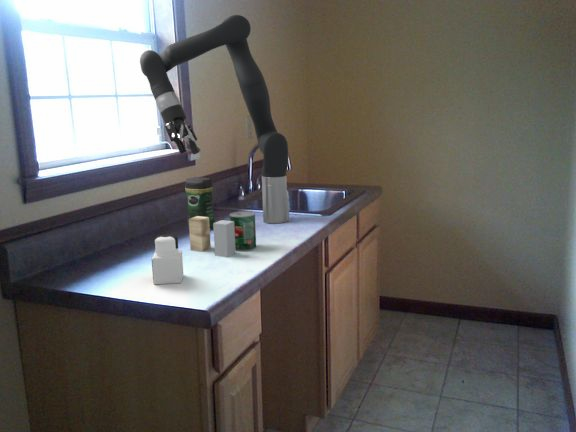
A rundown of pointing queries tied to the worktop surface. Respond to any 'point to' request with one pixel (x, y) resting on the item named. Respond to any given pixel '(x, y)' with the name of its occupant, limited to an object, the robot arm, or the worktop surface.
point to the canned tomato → (244, 230)
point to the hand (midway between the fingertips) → (190, 153)
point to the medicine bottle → (167, 260)
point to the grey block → (224, 238)
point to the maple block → (199, 233)
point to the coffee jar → (200, 198)
